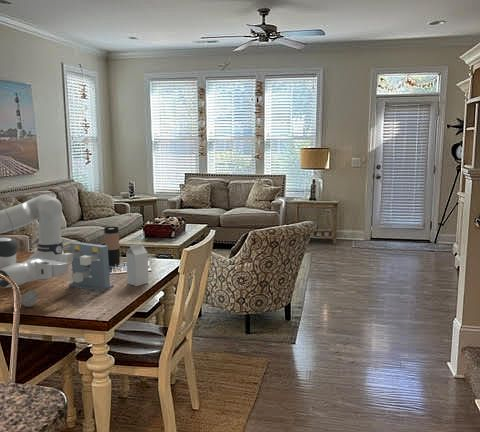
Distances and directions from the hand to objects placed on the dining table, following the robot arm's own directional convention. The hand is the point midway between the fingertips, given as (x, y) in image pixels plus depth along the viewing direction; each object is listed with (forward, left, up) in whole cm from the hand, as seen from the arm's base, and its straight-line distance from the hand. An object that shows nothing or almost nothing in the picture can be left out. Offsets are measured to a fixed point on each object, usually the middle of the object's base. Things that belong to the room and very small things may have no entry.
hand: (60, 261), depth 209 cm
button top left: (-1, +8, -1) cm, 8 cm away
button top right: (+10, +8, -1) cm, 13 cm away
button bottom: (+5, +8, -10) cm, 13 cm away
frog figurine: (+2, -18, -15) cm, 24 cm away
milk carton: (+22, +26, -15) cm, 37 cm away
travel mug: (-13, +48, -14) cm, 51 cm away
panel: (+5, +13, -14) cm, 20 cm away
